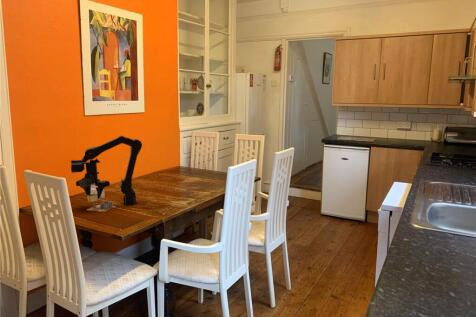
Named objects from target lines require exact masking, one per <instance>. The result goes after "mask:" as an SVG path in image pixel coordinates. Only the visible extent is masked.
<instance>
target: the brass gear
mask: <svg viewBox="0 0 476 317" xmlns="http://www.w3.org/2000/svg"><path fill="white" fill-rule="evenodd" d="M86 197H87V202H92V203H93V201H95V202H98V201H100V200H101V198H100V199H98V196H97V194H96V193H95V194H90V195H87V194H86Z"/></svg>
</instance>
